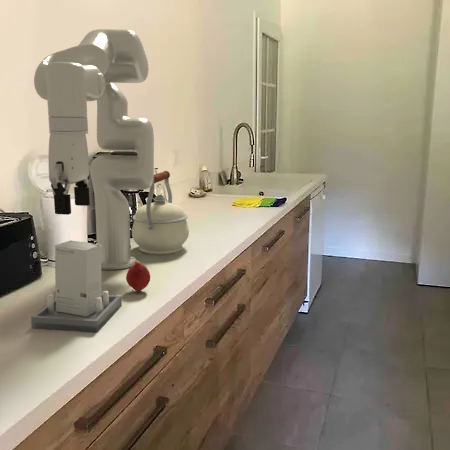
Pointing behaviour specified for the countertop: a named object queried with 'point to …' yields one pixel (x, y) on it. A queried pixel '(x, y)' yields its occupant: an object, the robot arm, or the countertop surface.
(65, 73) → the robot arm
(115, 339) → the countertop surface
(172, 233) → the kettle
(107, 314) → the pin tray
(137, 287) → the onion
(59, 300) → the skincare box
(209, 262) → the countertop surface
